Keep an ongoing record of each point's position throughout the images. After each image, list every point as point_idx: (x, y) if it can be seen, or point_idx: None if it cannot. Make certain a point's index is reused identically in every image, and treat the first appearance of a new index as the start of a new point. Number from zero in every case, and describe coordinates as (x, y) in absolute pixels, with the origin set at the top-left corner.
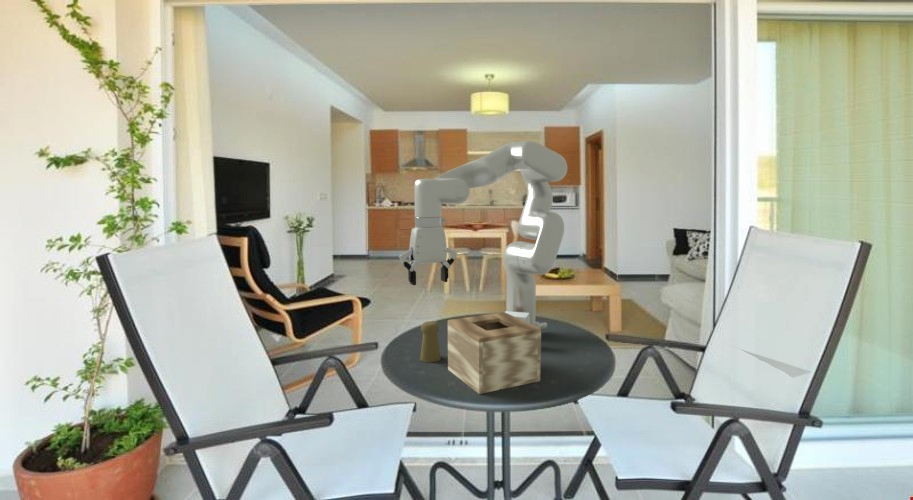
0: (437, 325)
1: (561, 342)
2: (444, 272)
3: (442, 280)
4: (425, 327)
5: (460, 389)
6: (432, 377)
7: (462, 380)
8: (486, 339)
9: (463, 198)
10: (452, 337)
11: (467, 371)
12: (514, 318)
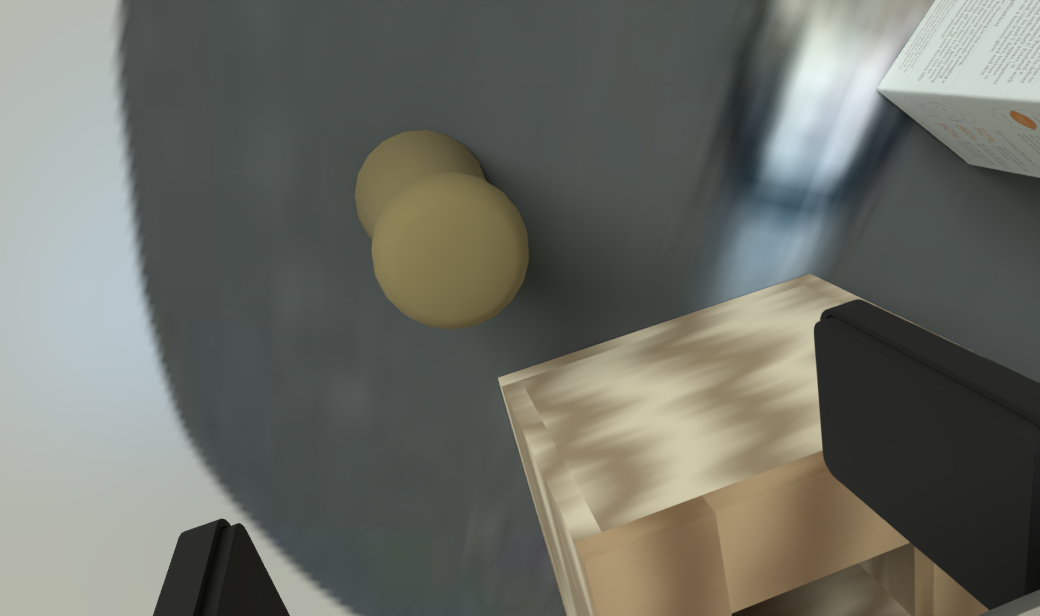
0: (516, 291)
1: None
2: (953, 558)
3: (822, 384)
4: (408, 315)
5: (508, 586)
6: (403, 465)
7: (537, 514)
8: None
9: None
10: (567, 551)
11: (565, 594)
12: None
